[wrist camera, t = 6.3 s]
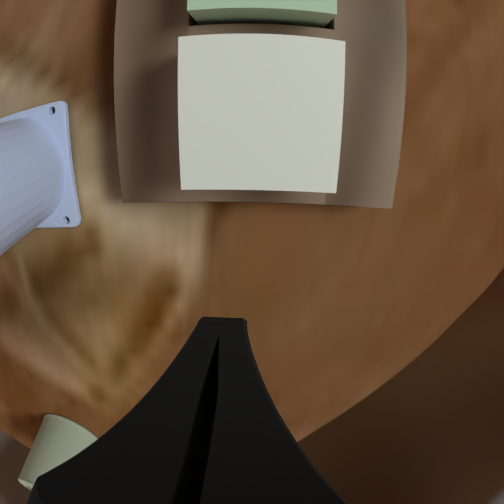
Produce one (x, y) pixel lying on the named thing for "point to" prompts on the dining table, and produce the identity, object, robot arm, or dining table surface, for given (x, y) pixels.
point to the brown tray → (183, 24)
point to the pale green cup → (54, 446)
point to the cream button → (260, 112)
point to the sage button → (263, 12)
